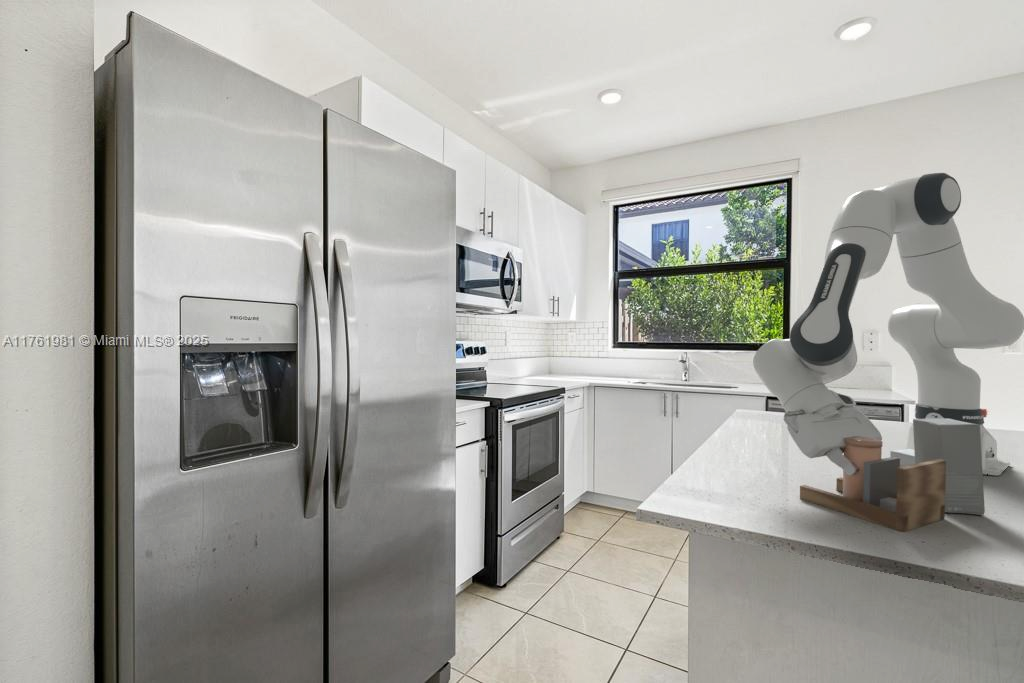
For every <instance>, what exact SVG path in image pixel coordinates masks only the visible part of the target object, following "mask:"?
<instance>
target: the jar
mask: <svg viewBox="0 0 1024 683" xmlns="http://www.w3.org/2000/svg"><path fill="white" fill-rule="evenodd" d="M844 441H845V443H846V446H845V447H844V453H843V456H845V457H846V458H847V459H848V460H849V461H850V462H854V463H855V464H856V465H857V467H859V469H860V471H859V472H858V473H856V474H854V475H847V474H846V473H845V471H844V470H843V469H842V478H843V492H842V496H844V497H847V498H851V499H854V500H857V501H861V502H863V482H864V462H869V461H874V460H879V459H882V447H883V440H878V439H874V438H869V437H861V436H853V437H846V438H844Z"/></svg>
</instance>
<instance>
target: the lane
mask: <svg viewBox="0 0 1024 683" xmlns="http://www.w3.org/2000/svg"><path fill="white" fill-rule="evenodd" d="M945 481H946V460H941V459H937V460H932V461H927V462H923V463H918V464H913V465H908V466H904V467H899V468H897V507H896V512H895V511H891V510H888V509H885V508H881V507H878V506H874V505H871V504H868V503H864V502H861V501H857V500H854V499H851V498H847V497H844V496H843V495H842V494H841V495H840V494H836V493H834V492H830V491H827V490H823V489H819V488H817V487H813V486H809V485H806V484H803V485H800V486H799V499H801V500H803V501H806V500H807V502H809V501H810V503H812V502H813V504H815V503H816V504H815V505H819V506H822V507H826V508H827V509H831V510H833V511H834V510H835V511H838V512H840V513H843V514H847V515H850V516H853V517H856V518H860V519H862V520H865V521H868V522H871V523H875V524H877V525H881V526H883V527H887V528H890V529H893V530H897V531H899V532H902V533H904V532H907V531H910V530H912V529H917V528H920V527H922V526H923V527H924V526H926V525H929V524H932V523H936V522H939V521H942V520H944V519H945V514H946V512H945ZM836 491H837V492H841V493H843V477H836Z"/></svg>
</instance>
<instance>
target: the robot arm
mask: <svg viewBox="0 0 1024 683" xmlns="http://www.w3.org/2000/svg"><path fill="white" fill-rule="evenodd" d="M960 187H961V186H960V185H959V183H958V181H957V180H956V179H955V178H954V177H953V176H951V175H950V174H947V173H945V172H934V173H933V172H932V173H928V174H927V173H926V174H922V175H921V176H919V177H918V176H917V177H913V178H907V179H903V180H898V181H893V182H891V183H888V184H887V185H884V186H881V187H878V188H874V189H865V190H860V191H858V192H855V193H854V194H852V195H850V196H849V197H848V198H847V199H846V200H845V202H844V203H843V204H842V206H841V208H840V210H839V212H838V214H837V215H836V218H835V220H834V222H833V225H832V228H831V231H830V234H829V237H828V240H827V244H826V249H825V256H824V265H823V269H822V271H821V273H820V276H819V279H818V283H817V285H816V287H815V291H814V293H813V296H812V299H811V301H810V303H809V305H808V307H807V308H806V309H805V310H804V311H803V313H802V314H801V315H800V316H799V317H798V318H797V319H796V321H795V322H794V324H793V325H792V326H791V329H790V333H789V338H785V339H783V338H782V339H781V338H773V339H770V340H768V341H765V342H764V343H763V344H762V345H761V346H760V347H759V348H758V349H757V350H756V352H755V354H754V356H753V361H752V365H753V368H754V370H755V372H756V374H757V376H758V377H759V379H760V381H761V382H762V383H763V384H764V386H765V387H766V388H767V390H768V391H769V392H770V393H771V394H772V395H773V396H775V397H776V398H777V399H778V400H779V402H780V405H781V407H782V409H783V410H784V411H785V412H784V415H783V421H784V422H785V424H786V426H787V431H788V433H789V435H790V437H791V438H792V440H793V441H794V444H796V446H797V447H798V448H799V450H800V452H801V453H802V454H803V455H804V456H806V457H807V458H809V459H814V458H821V457H827V458H828V459H829V461H831V462H832V463H834V465H837V466H838V467H839V468H840V469H842V471H843V470H844V471H845V473H846V474H847V475H854V474H856V473H858V472H859V471H860V469H859V467H857V465H856V464H855V463H854V462H850V461H849V460H848V459H847V458H846V457H845V456H844V447H845V446H846V443H845V441H844V438H846V437H853V436H861V437H869V438H874V439H878V440H881V441H883V437H882V434H881V432H880V431H879V429H878V428H877V427H876V426H875V425H874V423H873V422H872V421H871V420H870V419H869V417H868V416H867V415H866V414H865V413H864V412H863V411H862V410H861V409H859V408H858V407H855V406H856V405H857V402H856V401H855V399H853V398H852V397H851V396H849V395H847V394H842V393H838V392H836V391H834V390H832V389H829V388H828V387H827V386H826V384H829V383H832V382H834V381H836V380H839V379H841V378H843V377H845V376H848V374H850V373H851V372H853V370H854V368H855V367H856V365H857V362H858V353H857V348H856V344H855V341H854V331H853V326H852V323H851V320H850V316H849V315H850V314H849V312H850V308H851V306H852V302H853V299H854V296H855V293H856V289H857V286H858V284H859V281H860V280H866V279H869V278H871V277H873V276H875V275H877V274H878V273H879V272H880V271H881V269H882V267H883V266H884V264H885V262H886V260H887V257H888V255H889V253H890V250H891V247H892V242H893V238H894V235H895V237H896V245H897V250H898V254H899V258H900V261H901V265H902V269H903V272H904V275H905V279H906V283H907V284H908V285H909V286H908V287H910V288H911V289H913V290H914V291H916V292H918V293H921V294H923V295H925V296H927V297H929V298H930V299H931V300H932V301H934V302H923V303H922V302H920V303H914V304H910V305H905V306H902V307H898V308H896V309H895V310H894V311H893V312H892V313H891V314H890V316H889V318H888V321H887V329H888V333H889V336H890V337H891V338H892V340H894V342H896V343H897V344H898V345H900V346H901V347H902V348H903V349H904V350H905V351H906V352H907V353H908V355H909V356H910V359H911V360H912V362H913V365H914V367H915V370H916V375H917V376H916V377H917V403H916V404H915V408H914V419H942V418H945V419H954V420H958V421H962V422H967V423H973V424H978V425H980V437H981V455H982V472H983V475H987V474H988V476H1001V474H1003V473H1004V472H1005V471H1006V470H1007V469H1008V468H1009V467H1010V466H1011V462H1010V461H1009V460H1006V459H1002V458H998V444H997V443H998V442H997V440H996V439H995V438H994V437H993V435H992V434H991V433H990V432H989V431H988V430H987V428H986V427H985V426H984V424H985V418H987V416H988V410H987V408H981V383H982V382H981V381H982V380H981V377H980V375H979V373H978V372H977V371H976V370H975V369H973V368H971V367H970V366H968V365H966V364H964V363H962V362H961V361H960V360H959V359H958V358H957V355H956V353H955V349H969V350H971V349H972V350H973V349H974V350H987V349H994V348H1001V347H1002V348H1003V347H1009V346H1011V345H1013V344H1014V343H1016V342H1017V341H1018V340H1019V339H1020V338H1021V336H1023V333H1024V315H1023V313H1022V312H1021V310H1020V309H1019V308H1018V307H1017V306H1016V305H1014V304H1013V303H1011V302H1008V301H1005V300H1004V299H1001V298H999V297H998V296H996V295H995V294H993V293H991V292H990V291H989V290H988V289H986V288H985V287H984V286H983V285H982V284H981V283H980V282H979V281H978V280H977V278H976V277H975V276H974V274H973V272H972V271H971V267H970V265H969V262H968V260H967V256H966V254H965V251H964V245H963V243H962V238H961V235H960V232H959V228H958V227H957V225H956V222H955V220H954V216H955V215H956V213H957V212H958V210H959V209H960V206H961V202H962V191H961V188H960ZM906 439H907V440H906V441H907V442H906V446H905V447H906V449H913V450H914V431H913V423H911V424H910V425H909V426H908V432H907V438H906ZM1009 465H1010V466H1009ZM1008 466H1009V467H1008ZM1007 467H1008V468H1007ZM1006 468H1007V469H1006ZM1005 469H1006V470H1005ZM1004 470H1005V471H1004ZM1003 471H1004V472H1003ZM1002 472H1003V473H1002Z"/></svg>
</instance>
